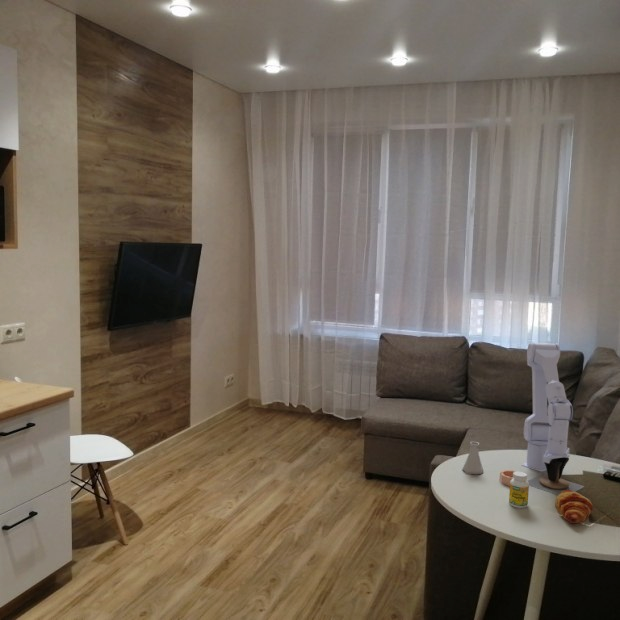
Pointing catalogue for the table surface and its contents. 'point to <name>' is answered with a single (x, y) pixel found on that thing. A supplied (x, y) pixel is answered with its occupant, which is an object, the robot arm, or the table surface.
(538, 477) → the mat
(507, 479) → the bowl
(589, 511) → the croissant
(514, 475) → the supplement bottle
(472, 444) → the flask
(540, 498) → the table surface
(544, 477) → the lid
